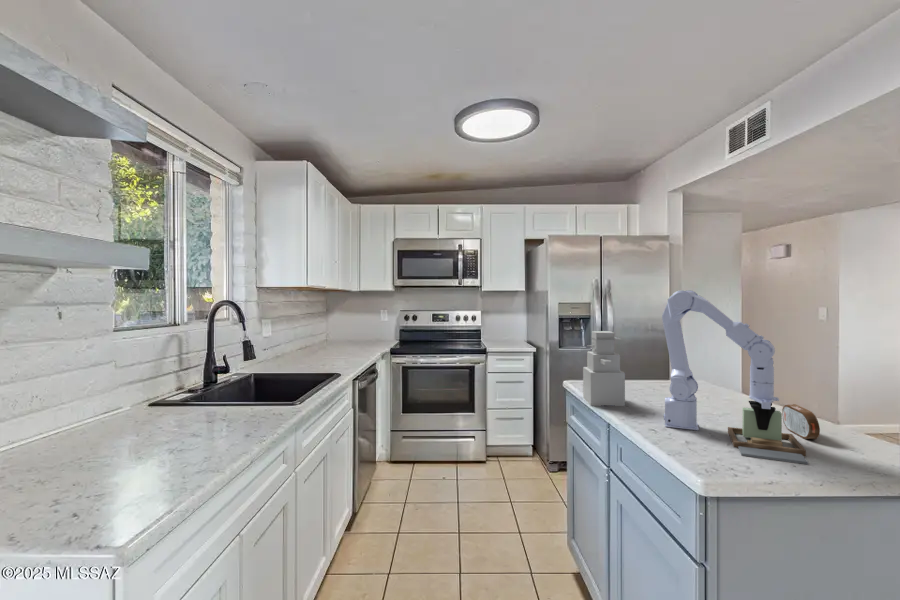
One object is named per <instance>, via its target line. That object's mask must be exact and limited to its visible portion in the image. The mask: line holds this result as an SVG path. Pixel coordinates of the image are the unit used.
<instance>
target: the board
mask: <svg viewBox="0 0 900 600" xmlns="http://www.w3.org/2000/svg"><path fill="white" fill-rule="evenodd" d="M741 422H742V434H741V435H743V437H744V438H750V439H751V437H754V438H762V439H771V440H780V441H781V442H782V440H783V439H782V433H783V430H782V427H783V426H782V425H783V424H782V423H783V414H782V412H781V411H780V410H775V412H774V413H773V414H772V416H771V419H770V422H769V426H768V429H767V430H759V429H758V426H757V421H756V416H755V412H754V410H753V408H751V407H742V421H741Z"/></svg>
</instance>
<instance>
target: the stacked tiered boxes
mask: <svg viewBox="0 0 900 600" xmlns="http://www.w3.org/2000/svg"><path fill="white" fill-rule="evenodd" d="M616 340H621V338H619V337H618V336H617V337H616V336H615V332H614V331H613V332H612V331H610V330H603V331H602V330H599V331H598V330H592V331H591V344H590V345H588V347H591V351H587V352H586V353H587V354H586V356H587V357H586V360H587V361H586V364H587V366H583V367H582V380H583V381H582V383H583V384H582V387H583V388H582V390H583V391H582V393H583V394H582V395H583V396H582V397H583V399H584V401H586V403H588V405H589V406H591V407H602V406H601V405H615V406H614V407H626V373H625V372H624V371H623V370H621V355H620V354H619V353H617V352H616V351H615V349H616V346H615V345H616V344H615V341H616Z"/></svg>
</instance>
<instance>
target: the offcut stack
mask: <svg viewBox="0 0 900 600" xmlns="http://www.w3.org/2000/svg"><path fill="white" fill-rule="evenodd" d="M746 442H748V443H756V444H764V445H773V446H781V447H784V446H783V445H784V444H783V442H782V441H780V440H771V439H762V438H754V437H751V438H750V440H749V439H747V440H746Z"/></svg>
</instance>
